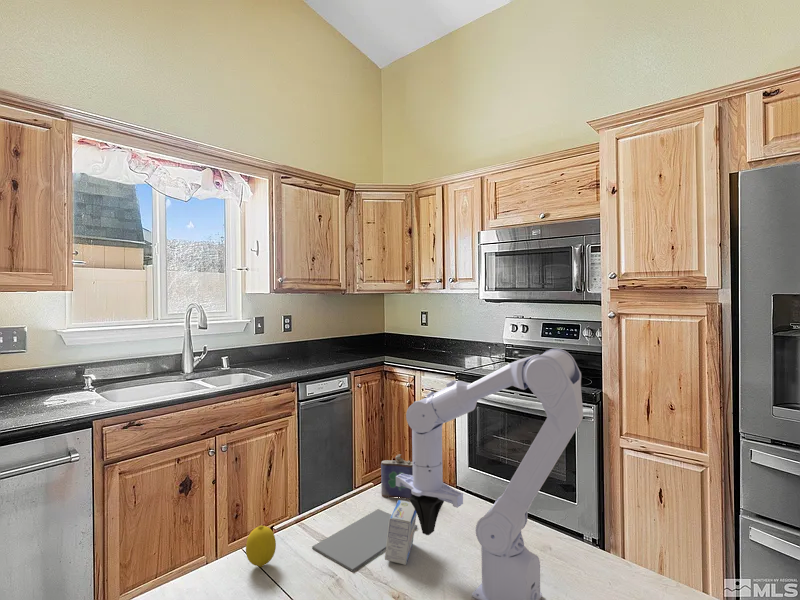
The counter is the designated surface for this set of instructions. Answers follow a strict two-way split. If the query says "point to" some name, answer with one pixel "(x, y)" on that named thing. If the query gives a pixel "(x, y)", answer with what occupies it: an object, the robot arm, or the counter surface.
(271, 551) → the lemon
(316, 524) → the counter surface
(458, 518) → the counter surface
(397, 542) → the medicine box
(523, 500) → the robot arm
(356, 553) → the mat
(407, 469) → the flask
